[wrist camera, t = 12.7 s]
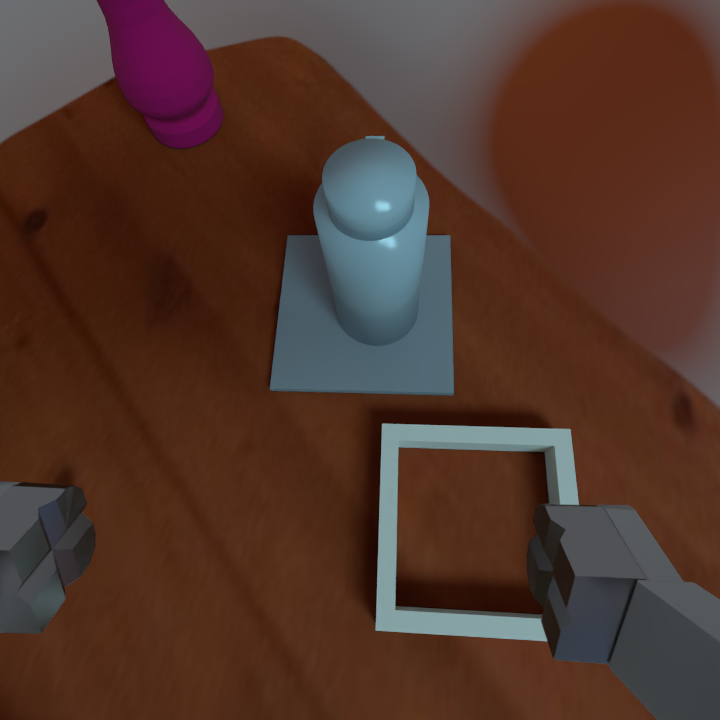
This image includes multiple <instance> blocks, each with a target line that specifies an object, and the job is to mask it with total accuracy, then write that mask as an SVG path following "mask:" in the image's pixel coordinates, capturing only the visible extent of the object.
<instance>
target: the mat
mask: <svg viewBox="0 0 720 720" xmlns="http://www.w3.org/2000/svg"><path fill="white" fill-rule="evenodd" d="M270 389H271V391H303V392H342V393H381V394H420V395H453V394H454V375H453V333H452V291H451V249H450V235H426V242H425V251H424V261H423V270H422V280H421V289H420V299H419V308H418V316H417V319H416V322H415V324H414V326H413V328H412V329H411V330H410V332H409V333H408V334H407V335H406V336H404V337H403V338H402V339H400V340H398V341H396V342H394V343H392V344H388V345H383V346H371V345H366V344H363V343H360V342H358V341H356V340H354V339H353V338H351V337H350V336H349V335H348V334H347V333H346V332H345V331H344V329H343V328H342V326H341V324H340V322H339V319H338V315H337V311H336V307H335V302H334V298H333V294H332V290H331V285H330V281H329V277H328V273H327V269H326V264H325V260H324V256H323V252H322V248H321V243H320V239H319V235H288V238H287V246H286V255H285V263H284V272H283V280H282V289H281V297H280V306H279V314H278V323H277V331H276V340H275V348H274V357H273V365H272V374H271V382H270Z"/></svg>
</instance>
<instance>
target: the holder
mask: <svg viewBox="0 0 720 720" xmlns="http://www.w3.org/2000/svg"><path fill="white" fill-rule="evenodd" d="M398 447H409V448H438V449H468V450H498V451H528V452H545V463H546V474H547V485H548V496H549V504H569V505H579V502H578V493H577V484H576V475H575V466H574V457H573V448H572V439H571V430H570V429H548V428H514V427H481V426H448V425H415V424H382V440H381V472H380V505H379V538H378V570H377V603H376V631H392V632H408V633H424V634H440V635H456V636H472V637H489V638H505V639H521V640H537V641H547V638H546V635H545V632H544V629H543V626H542V623H541V619H542V615H540V614H523V613H505V612H488V611H471V610H454V609H436V608H419V607H402V606H395V600H396V545H397V490H398Z"/></svg>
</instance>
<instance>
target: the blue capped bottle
mask: <svg viewBox="0 0 720 720" xmlns="http://www.w3.org/2000/svg"><path fill="white" fill-rule="evenodd" d="M313 212H314V218H315V222H316V226H317V231H318V235H319V239H320V243H321V248H322V252H323V256H324V260H325V264H326V269H327V273H328V277H329V281H330V285H331V290H332V294H333V298H334V302H335V307H336V311H337V315H338V319H339V322H340V324H341V326H342V328H343V329H344V331H345V332H346V333H347V334H348V335H349V336H350V337H351V338H353V339H354V340H356V341H358V342H360V343H363V344H366V345H371V346H383V345H388V344H392V343H394V342H396V341H398V340H400V339H402V338H403V337H404V336H406V335H407V334H408V333H409V332H410V330H411V329H412V328H413V326H414V324H415V322H416V319H417V316H418V308H419V299H420V289H421V280H422V270H423V261H424V251H425V242H426V232H427V223H428V213H429V197H428V193H427V190H426V188H425V186H424V184H423V182H422V181H421V180H420V178H419V177H418V176H417V175H416V167H415V164H414V162H413V160H412V158H411V156H410V155H409V154H408V153H407V152H406V151H405V150H404V149H403V148H402V147H400V146H399V145H397V144H395V143H393V142H390V141H387V140H384V136H366V139H361V140H356V141H353V142H350V143H348V144H346V145H344V146H342V147H340V148H339V149H337V150H336V151H335V152H334V153H333V154H332V155H331V156H330V157H329V159H328V160H327V162H326V164H325V166H324V169H323V173H322V184H321V185H320V187H319V189H318V191H317V193H316V196H315V199H314V204H313Z"/></svg>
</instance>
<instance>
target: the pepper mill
mask: <svg viewBox="0 0 720 720" xmlns="http://www.w3.org/2000/svg"><path fill="white" fill-rule="evenodd" d="M97 2H98V4H99V6H100V8H101V10H102V12H103V14H104V16H105V19H106V23H107V26H108V31H109V37H110V44H111V53H112V54H111V55H112V62H113V69H114V72H115V76H116V79H117V82H118V85H119V87H120V89H121V91H122V93H123V95H124V97H125V99H126V100H127V101H128V103H129V104H130V105H131V106H132V107H133V108H134V109H136V110H137V111H138V112H140V113H142V114H144V118H145V121H146V123H147V124H148V126H149V128H150V129H151V131H152V133H153V135H154V136H155V138H156V139H157V140H158V141H160V142H161V143H162V144H164V145H167V146H169V147H173V148H190V147H194V146H197V145H200V144H202V143H204V142H206V141H207V140H209V139H210V138H211V137H212V136H214V135H215V133H216V132H217V131H218V129H219V128H220V126H221V123H222V120H223V110H222V107H221V104H220V102H219V99H218V96H217V94H216V92H215V90H214V89H213V87H212V86H213V81H214V72H213V67H212V64H211V61H210V59H209V57H208V55H207V53H206V51H205V49H204V47H203V46H202V44H201V43H200V42H199V40H198V39H197V38H196V36H195V35H194V34H193V33H192V32H191V30H190V29H189V28H188V27H187V26H186V25H185V24H184V23H183V22H182V21H181V20H179V18H178V17H177V16H176V15H175V14H174V13H173V12H172V11H171V10H170V8H169V7H168V6H167V4H166V3H165V1H164V0H97Z"/></svg>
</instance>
